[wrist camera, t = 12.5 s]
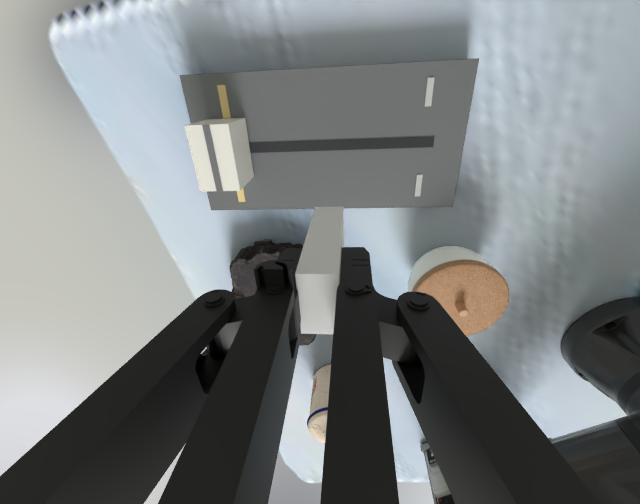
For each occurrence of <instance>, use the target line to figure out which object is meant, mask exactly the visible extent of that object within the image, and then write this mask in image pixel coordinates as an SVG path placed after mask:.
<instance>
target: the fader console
mask: <svg viewBox="0 0 640 504" xmlns="http://www.w3.org/2000/svg"><path fill="white" fill-rule="evenodd" d="M478 62H479V58H478V59H460V60H442V61H425V62H407V63H389V64H372V65H354V66H337V67H319V68H301V69H284V70H266V71H248V72H231V73H213V74H196V75H180V79H181V83H182V88H183V92H184V96H185V100H186V105H187V109H188V113H189V117H190V122H191V124H192V123H196V122H200V121H203V120H207V119H229V118H245V121H246V127H247V134H248V140H249V147H250V153H251V160H252V167H253V173H254V177H253V178H252V179H251V180H250V181H249V182H248V183H247V184H246V185H245V186H244V187H243V188H242V189H241V190H240V191H223V192H217V191H207V194H208V198H209V202H210V206H211V210H256V209H315V207H343V208H395V207H453V201H454V196H455V190H456V185H457V179H458V173H459V168H460V162H461V157H462V151H463V146H464V140H465V134H466V129H467V123H468V118H469V112H470V106H471V101H472V95H473V90H474V84H475V78H476V73H477V67H478Z"/></svg>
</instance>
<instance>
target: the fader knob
mask: <svg viewBox="0 0 640 504" xmlns="http://www.w3.org/2000/svg"><path fill="white" fill-rule="evenodd" d="M184 127H185V131H186V135H187V139H188V143H189V147H190V151H191V155H192V159H193V163H194V167H195V171H196V175H197V179H198V183H199V187H200V192H204V191H217V192H223V191H240V190H241V189H242V188H243V187H244V186H245V185H246V184H247V183H248V182H249V181H250V180H251V179H252V178H253V177H254V173H253V167H252V160H251V153H250V147H249V140H248V134H247V127H246V121H245V118H229V119H207V120H203V121H200V122H196V123H192V124H189V125H185V126H184Z"/></svg>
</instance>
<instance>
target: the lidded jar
mask: <svg viewBox="0 0 640 504" xmlns="http://www.w3.org/2000/svg"><path fill="white" fill-rule="evenodd" d="M408 292H422V293H426V294H428V295H431V296H433V297H434V298H435V299H436V300H437V301H438V302H439V303H440V304H441V305H442V307H443V308H444V309H445V310H446V312H447V313H448V314H449V315H450V317H451V318H452V319H453V320H454V322H455V323H456V324H457V325H458V327H459V328H460V329H461V330H462V332H463V333H464V334H465V335H466V336H469V335H472V334H476V333H478V332H481V331H483V330H484V329H486V328H488V327H489V326H491V325H492V324H494V323H495V322H496V321H497V320H498V319H499V318H500V317H501V315H502V314H503V313H504V311H505V309H506V307H507V304H508V301H509V288H508V285H507V283H506V281H505V279H504V278H503V277H502V275H501V274H500V273H499V272H498V271H497V270H496V269H494V267H493V266H492V265H491V264H490V263H489V262H488V261H487V260H486V259H484V258H483V257H482V256H480V255H479V254H477V253H476V252H474V251H472V250H470V249H467V248H463V247H459V246H444V247H439V248H435V249H433V250H431V251H429V252H427V253H425V254H424V255H423V256H422V257H420V258H419V259H418V260H417V262H416V263H415V264H414V266H413V268H412V270H411V272H410V275H409V279H408Z"/></svg>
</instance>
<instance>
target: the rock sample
mask: <svg viewBox="0 0 640 504" xmlns="http://www.w3.org/2000/svg"><path fill="white" fill-rule="evenodd" d="M254 244H255V246H253V247H251V246H249V247H247V248H246V249H244V248H243V249H242V250H241V251H240V252H239V254H238V255H237V257H236V258H235V260H234V261H232V262H231V265H230V272H231V278H232V285H233V289H232V292H231V293H232V294H233V295H234V299H238V298H243V297H248V296H252V295H254V294H255V292H256V290H257V285H256V280H255V274H254V268H255V267H256V266H257V265H259V264H260V263H262V262H265V261H269V260H277V259H278V257H279V254H280V253H281V252H282V251H284V250H285V249H286V248H303V245H301V244H295V245H293V244H291V243H290V242H289V243H280V244H275V245H274V243H273V242H272V241H271V240H268V239H265V240H263V241H259V242H258V241H256V242H255V243H254ZM298 334H299V345H309V344H310V343H312V342H313V341H314V339H315V337H316V334H301V327H300V328H299V333H298Z"/></svg>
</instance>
